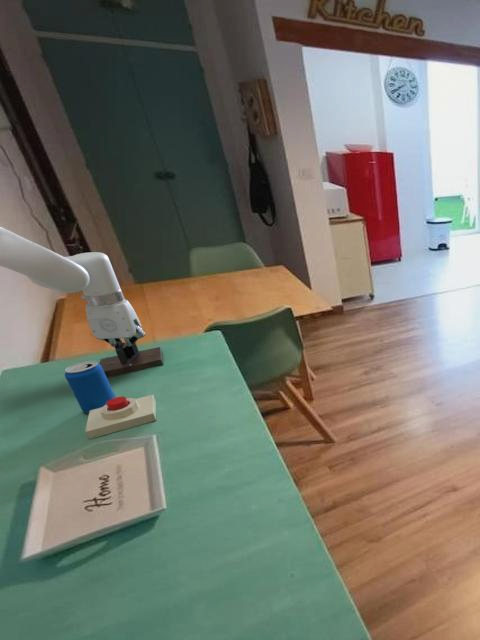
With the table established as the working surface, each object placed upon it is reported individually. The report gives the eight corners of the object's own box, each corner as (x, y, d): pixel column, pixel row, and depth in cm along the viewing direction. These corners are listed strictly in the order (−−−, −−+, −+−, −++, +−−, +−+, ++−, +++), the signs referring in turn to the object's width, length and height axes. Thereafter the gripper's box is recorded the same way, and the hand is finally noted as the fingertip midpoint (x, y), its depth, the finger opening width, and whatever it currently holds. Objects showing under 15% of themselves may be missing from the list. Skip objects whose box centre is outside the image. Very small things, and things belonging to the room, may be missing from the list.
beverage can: (122, 405, 106) (104, 364, 101) (89, 418, 101) (68, 375, 96) (111, 397, 109) (93, 357, 104) (79, 410, 104) (57, 368, 99)
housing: (89, 439, 94) (81, 425, 92) (93, 417, 101) (86, 404, 100) (156, 420, 101) (150, 406, 99) (155, 401, 108) (150, 388, 106)
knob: (127, 363, 121) (121, 348, 119) (120, 364, 120) (114, 349, 118) (140, 354, 126) (134, 339, 124) (134, 354, 126) (128, 340, 124)
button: (108, 413, 97) (105, 406, 96) (109, 405, 100) (106, 399, 99) (128, 407, 99) (125, 401, 99) (129, 400, 102) (126, 394, 101)
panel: (100, 379, 117) (97, 372, 116) (103, 364, 124) (100, 358, 123) (163, 365, 125) (160, 358, 124) (162, 352, 132) (160, 346, 131)
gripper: (61, 303, 110) (89, 364, 118) (129, 301, 113) (152, 361, 121) (82, 294, 117) (107, 352, 125) (145, 292, 120) (166, 349, 128)
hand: (129, 356), depth 123 cm, fingers closed on knob
